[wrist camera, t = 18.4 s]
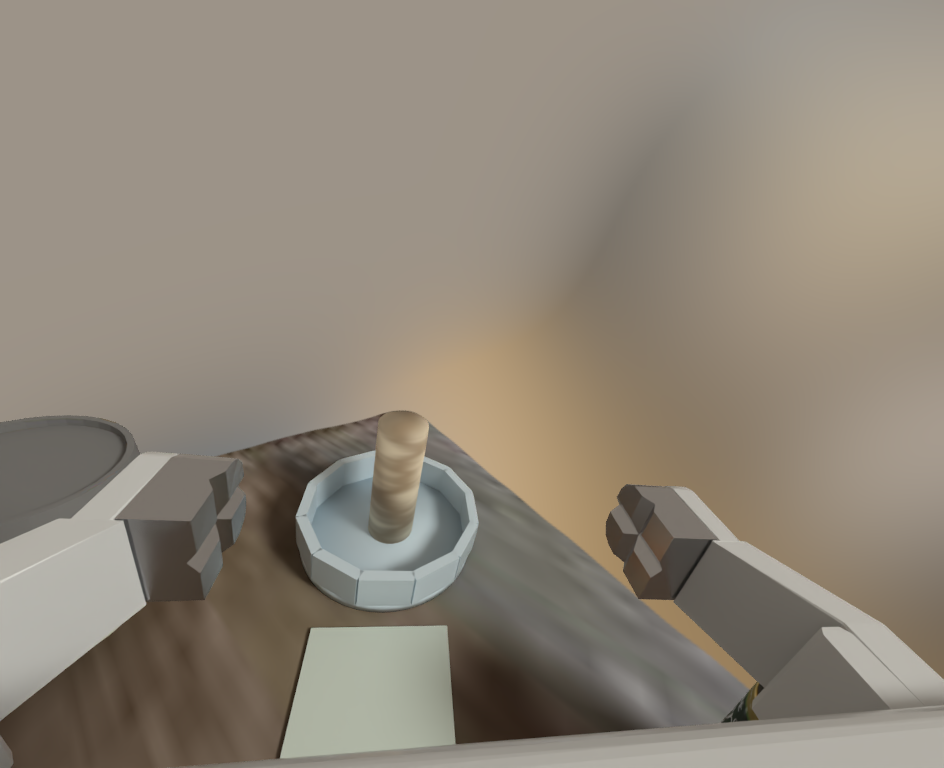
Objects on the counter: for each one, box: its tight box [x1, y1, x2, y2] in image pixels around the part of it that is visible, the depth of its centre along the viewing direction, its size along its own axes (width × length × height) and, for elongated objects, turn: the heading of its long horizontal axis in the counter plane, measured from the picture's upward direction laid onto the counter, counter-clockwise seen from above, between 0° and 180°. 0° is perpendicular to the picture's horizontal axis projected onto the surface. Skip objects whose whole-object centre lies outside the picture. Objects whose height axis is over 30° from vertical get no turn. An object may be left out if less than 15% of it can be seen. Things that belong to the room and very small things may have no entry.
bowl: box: [296, 450, 479, 612], centre depth 43 cm, size 19×19×4 cm
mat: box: [280, 626, 455, 759], centre depth 29 cm, size 12×12×1 cm
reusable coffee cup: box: [0, 416, 140, 642], centre depth 28 cm, size 13×12×15 cm
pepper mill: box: [368, 411, 429, 544], centre depth 40 cm, size 5×5×14 cm
